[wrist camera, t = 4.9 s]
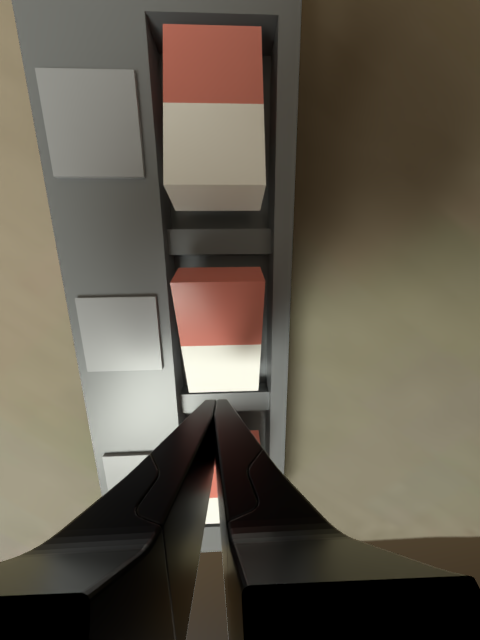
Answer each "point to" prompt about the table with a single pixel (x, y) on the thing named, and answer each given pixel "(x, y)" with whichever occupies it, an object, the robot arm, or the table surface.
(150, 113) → the power board
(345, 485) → the table surface
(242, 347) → the block
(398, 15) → the table surface
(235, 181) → the rocker
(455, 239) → the table surface
